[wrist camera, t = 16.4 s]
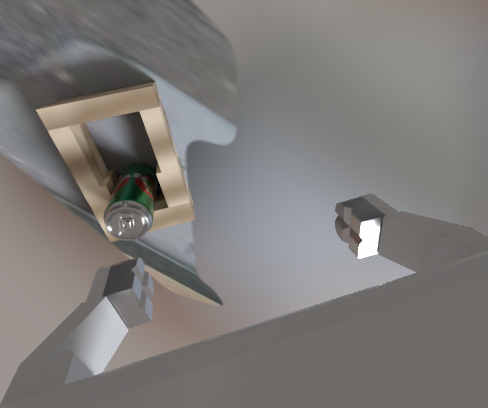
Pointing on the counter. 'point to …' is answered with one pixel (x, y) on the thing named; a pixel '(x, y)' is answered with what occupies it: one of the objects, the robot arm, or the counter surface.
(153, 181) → the soda can
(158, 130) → the keyhole board
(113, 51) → the counter surface
